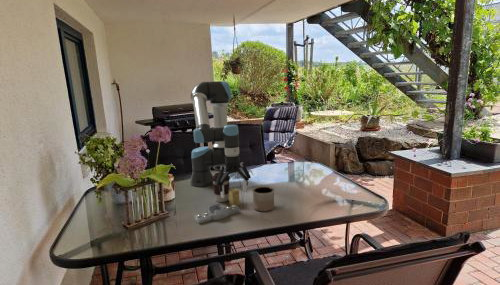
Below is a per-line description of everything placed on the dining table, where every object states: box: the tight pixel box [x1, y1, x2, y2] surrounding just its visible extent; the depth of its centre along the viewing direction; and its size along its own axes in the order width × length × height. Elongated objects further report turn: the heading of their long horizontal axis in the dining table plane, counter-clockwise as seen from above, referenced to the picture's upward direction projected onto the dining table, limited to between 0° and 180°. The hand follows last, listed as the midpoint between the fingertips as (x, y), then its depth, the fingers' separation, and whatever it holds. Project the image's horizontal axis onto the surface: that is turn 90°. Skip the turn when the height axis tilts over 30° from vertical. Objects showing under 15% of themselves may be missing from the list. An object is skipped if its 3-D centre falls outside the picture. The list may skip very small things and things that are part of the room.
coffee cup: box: [212, 171, 231, 203], centre depth 174 cm, size 10×10×15 cm
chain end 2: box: [214, 203, 240, 219], centre depth 157 cm, size 8×11×4 cm
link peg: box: [228, 188, 240, 206], centre depth 168 cm, size 4×4×8 cm
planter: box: [252, 186, 275, 212], centre depth 162 cm, size 11×11×10 cm
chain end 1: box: [193, 204, 223, 225], centre depth 151 cm, size 8×11×4 cm
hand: (234, 194), depth 167 cm, fingers open, 13 cm apart
